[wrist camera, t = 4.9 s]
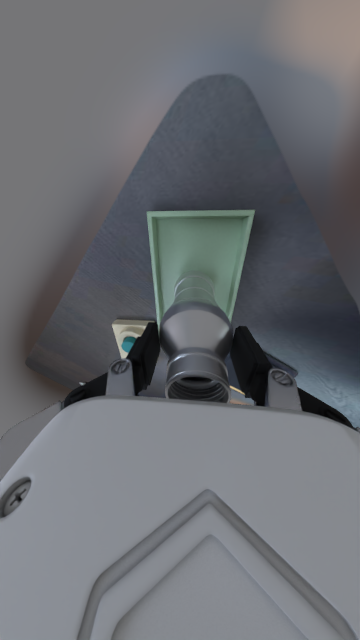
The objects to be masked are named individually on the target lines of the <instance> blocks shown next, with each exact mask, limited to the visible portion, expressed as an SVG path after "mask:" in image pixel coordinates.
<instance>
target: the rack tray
mask: <svg viewBox="0 0 360 640" xmlns="http://www.w3.org/2000/svg"><path fill="white" fill-rule="evenodd" d="M254 213H255V210H209V211H147V219H148V229H149V240H150V250H151V261H152V271H153V281H154V292H155V302H156V313H157V323H158V331H159V325H160V322H161V320H162V318H163V316H164V314H165V313H166V311H167V310H168V309H169V308H170V306H171V305H172V304H173V302H174V300H175V295H174V287H175V283H176V281H177V279H178V278H179V277H180V276H181V275H182V274H184V273H185V272H188V271H192V270H197V271H201V272H203V273H205V274H206V275H208V276H209V277H210V279H211V280H212V282H213V284H214V289H215V295H214V298H215V301H216V303H217V304H218V305H219V307H220V308H221V309H222V310H223V311H224V313H225V314H226V315H227V317H228V319H229V321H230V323H231V319H232V314H233V309H234V305H235V300H236V295H237V291H238V286H239V282H240V277H241V272H242V268H243V263H244V258H245V254H246V249H247V245H248V240H249V235H250V231H251V226H252V222H253V217H254Z"/></svg>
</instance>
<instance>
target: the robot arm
mask: <svg viewBox="0 0 360 640" xmlns="http://www.w3.org/2000/svg"><path fill="white" fill-rule="evenodd" d="M159 352H160V342H159V331H158V324H156V323H155V322H148V324H147V326H146V328H145V330H144V332H143V334H142V335H141V337H140V336H138V337H137V339H136V341H135V342H134V344H133V346H132V348H131V349H130V351H129V353H128V355H127V357H126V358H122V359H118V360H116V361H114V362H113V363H112V364H111V365H110V366H109V369H108V372H107V373H105V374H103V375H102V376H100V377H98V378H96V379H94V380H92V381H90V382H88V383H86V384H84V385H82V386H80V387H78V388H76V389H75V390H73V391H72V392H71V393H70V394H69V395H68V396H67V397H66V398H65V400H64V401H63V402H61V401H58V402H57V403H55V404H53V405H51V406H49V407H47V408H45V409H44V410H42V411H40V412H38V413H36V414H34V415H33V416H31V417H29V418H27V419H25V420H23V421H21V422H20V423H18V424H16V425H15V426H13V427H12V428H10V429H9V430H8V431H7V432H6V433H5V434H4V435H3V436H2V438H1V439H0V640H360V428H358V427H356V428H354V427H353V426H352V424H351V423H350V421H349V420H348V419H347V418H346V417H345V416H344V415H343V414H341V413H340V412H339V411H337V410H336V409H334V408H332V407H331V406H329V405H327V404H326V403H324V402H322V401H321V400H319V399H317V398H315V397H314V396H312V395H310V394H309V393H307V392H305V391H303V390H302V389H300V388H298V387H297V384H296V381H295V379H294V378H293V376H292V375H290V374H289V373H288V372H286V371H284V370H282V369H279V368H273V366H272V365H271V363H270V362H269V360H268V358H267V357H266V355H265V354H264V352H263V350H262V349H261V347H260V345H259V344H258V343H256V341H255V339H254V338H253V336H252V334H251V333H250V331H249V330H248V328H247V327H246V326H239V327H238V328H236V330H235V334H234V337H233V343H232V347H231V350H230V357H231V360H232V364H233V367H234V370H235V373H236V376H237V379H238V383H239V386H240V389H241V392H243V393H244V395H245V398H252V400H254V406H252V405H241V404H229V403H217V402H205V401H193V400H181V399H168V398H155V397H141V396H139V392H140V391H142V389H143V390H146V389H147V386H148V385H150V383H151V380H152V376H153V373H154V369H155V366H156V363H157V359H158V356H159Z"/></svg>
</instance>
